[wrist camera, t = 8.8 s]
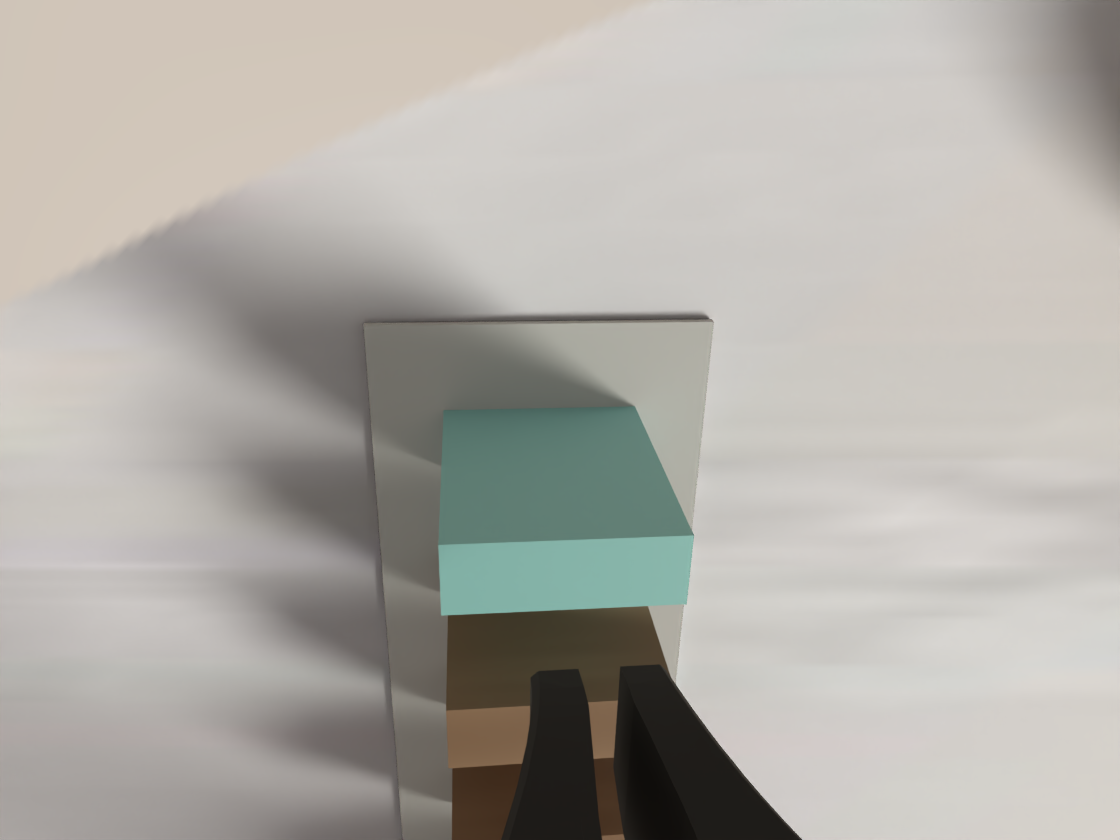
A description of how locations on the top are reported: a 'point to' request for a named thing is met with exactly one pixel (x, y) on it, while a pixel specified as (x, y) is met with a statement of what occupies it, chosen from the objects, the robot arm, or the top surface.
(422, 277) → the top surface
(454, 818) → the tile
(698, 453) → the runner mat
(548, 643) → the tile
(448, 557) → the tile
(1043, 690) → the top surface
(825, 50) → the top surface
